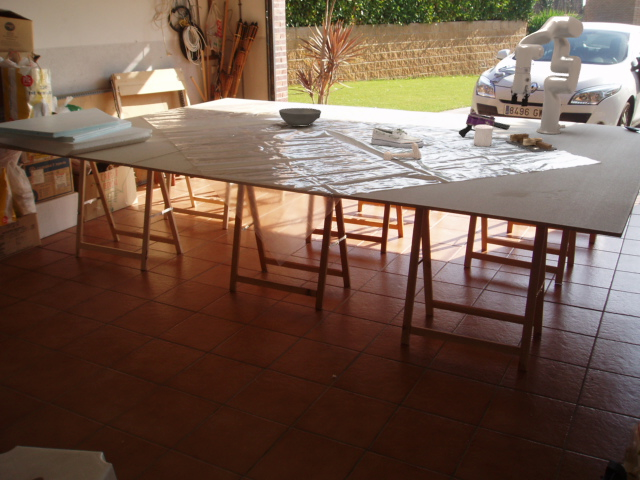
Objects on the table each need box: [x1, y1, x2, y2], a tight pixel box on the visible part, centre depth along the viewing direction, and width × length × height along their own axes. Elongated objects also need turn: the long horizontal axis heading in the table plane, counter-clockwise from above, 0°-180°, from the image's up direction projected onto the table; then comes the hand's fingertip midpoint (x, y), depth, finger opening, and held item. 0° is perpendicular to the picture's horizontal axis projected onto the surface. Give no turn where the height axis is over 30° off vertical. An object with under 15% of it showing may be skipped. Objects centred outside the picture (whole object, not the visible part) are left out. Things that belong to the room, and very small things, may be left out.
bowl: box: [278, 107, 322, 126], centre depth 370 cm, size 26×26×10 cm
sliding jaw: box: [523, 137, 543, 145], centre depth 303 cm, size 10×3×3 cm, turn 106°
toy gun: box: [458, 111, 511, 138], centre depth 326 cm, size 3×26×15 cm, turn 78°
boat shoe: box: [371, 127, 425, 149], centre depth 312 cm, size 11×29×10 cm, turn 69°
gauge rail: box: [509, 133, 553, 149], centre depth 305 cm, size 10×26×5 cm, turn 16°
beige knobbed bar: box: [383, 142, 422, 161], centre depth 284 cm, size 4×18×10 cm, turn 91°
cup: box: [473, 125, 494, 147], centre depth 309 cm, size 10×10×10 cm
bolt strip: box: [505, 139, 558, 154], centre depth 305 cm, size 13×26×1 cm, turn 16°
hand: (518, 105), depth 304 cm, fingers open, 9 cm apart
